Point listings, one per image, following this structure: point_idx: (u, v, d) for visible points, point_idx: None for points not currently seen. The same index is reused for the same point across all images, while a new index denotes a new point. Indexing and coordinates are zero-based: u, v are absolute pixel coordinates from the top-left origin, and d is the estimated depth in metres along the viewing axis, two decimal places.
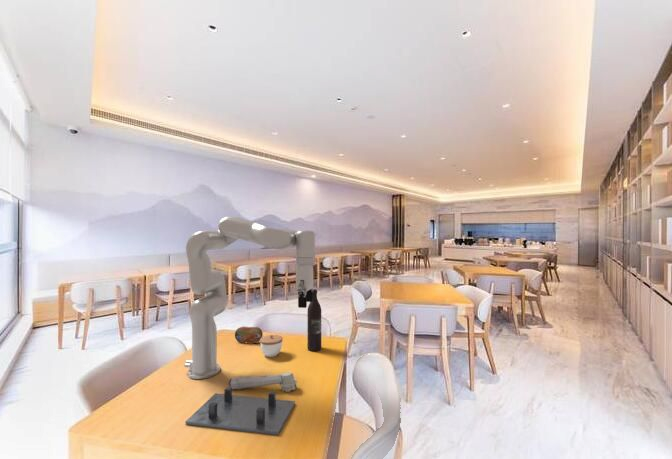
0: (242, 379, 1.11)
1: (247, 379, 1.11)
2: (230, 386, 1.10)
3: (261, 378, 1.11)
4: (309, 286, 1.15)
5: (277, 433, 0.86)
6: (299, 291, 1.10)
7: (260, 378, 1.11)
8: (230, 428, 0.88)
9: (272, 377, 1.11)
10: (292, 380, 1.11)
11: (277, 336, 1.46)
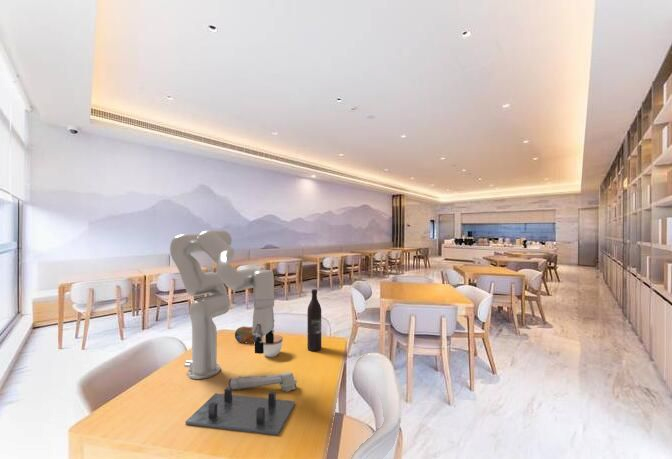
0: (242, 379, 1.11)
1: (247, 379, 1.11)
2: (230, 386, 1.10)
3: (261, 378, 1.11)
4: (267, 330, 1.09)
5: (277, 433, 0.86)
6: (254, 337, 1.04)
7: (260, 378, 1.11)
8: (230, 428, 0.88)
9: (272, 377, 1.11)
10: (292, 380, 1.11)
11: (277, 336, 1.46)
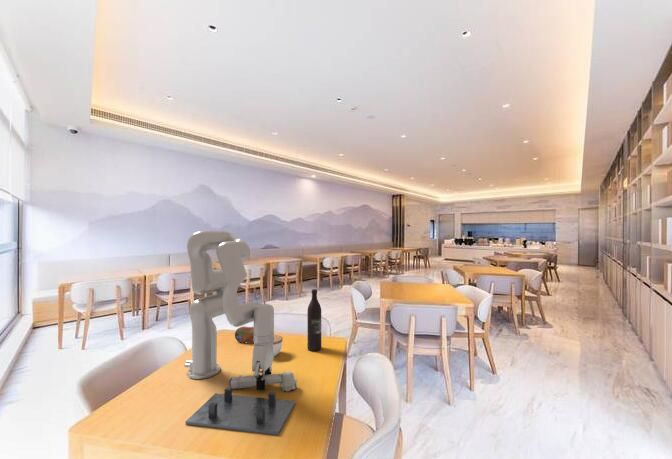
0: (242, 378, 1.11)
1: (247, 378, 1.11)
2: (230, 385, 1.10)
3: None
4: (266, 366, 1.09)
5: (277, 433, 0.86)
6: (256, 377, 1.06)
7: None
8: (230, 428, 0.88)
9: (272, 376, 1.11)
10: (292, 379, 1.11)
11: (277, 336, 1.46)
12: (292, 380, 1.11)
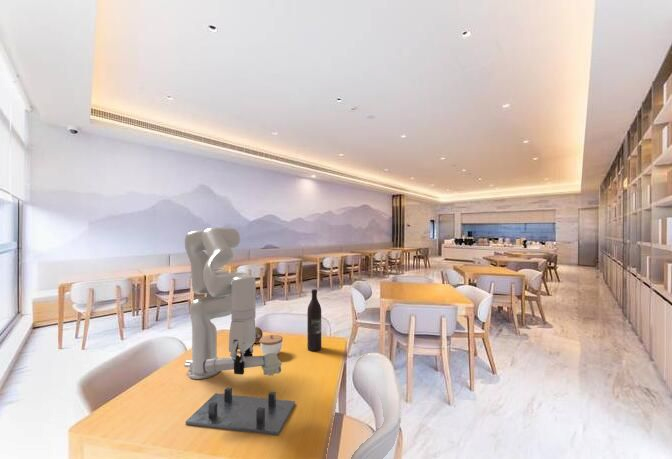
0: (218, 360, 0.96)
1: (224, 360, 0.96)
2: (204, 368, 0.95)
3: None
4: (246, 346, 0.94)
5: (277, 433, 0.86)
6: (233, 358, 0.90)
7: None
8: (230, 428, 0.88)
9: (253, 358, 0.95)
10: (276, 362, 0.95)
11: (277, 336, 1.46)
12: (276, 363, 0.95)
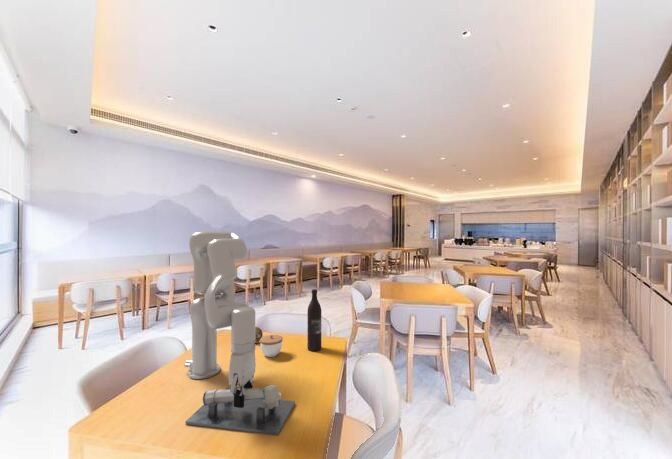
0: (218, 393, 0.96)
1: (224, 393, 0.96)
2: (204, 401, 0.95)
3: None
4: (246, 379, 0.94)
5: (277, 433, 0.86)
6: (233, 392, 0.90)
7: None
8: (230, 428, 0.88)
9: (253, 391, 0.95)
10: (276, 395, 0.95)
11: (277, 336, 1.46)
12: (275, 396, 0.95)
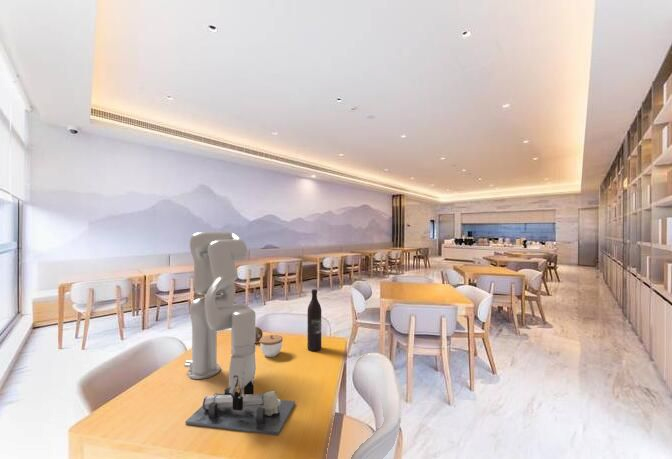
0: (218, 398, 0.96)
1: (223, 398, 0.96)
2: (204, 406, 0.96)
3: None
4: (246, 381, 0.94)
5: (277, 433, 0.86)
6: (231, 394, 0.90)
7: None
8: (230, 428, 0.88)
9: (252, 397, 0.95)
10: (275, 402, 0.94)
11: (277, 336, 1.46)
12: (274, 402, 0.94)
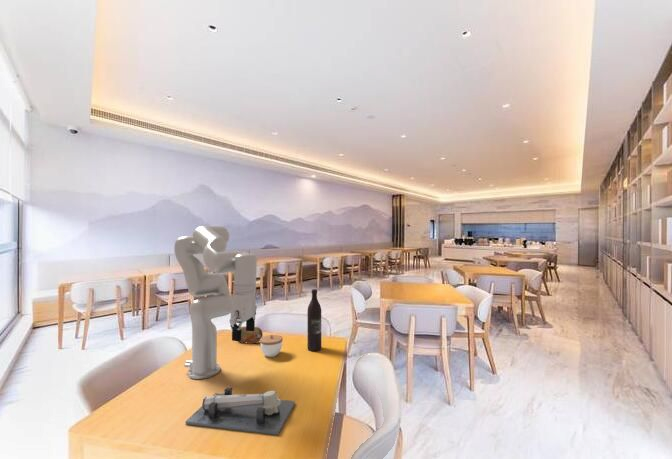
0: (218, 398, 0.96)
1: (223, 399, 0.96)
2: (204, 406, 0.95)
3: (239, 398, 0.95)
4: (246, 317, 1.03)
5: (277, 433, 0.86)
6: (231, 324, 0.98)
7: (238, 398, 0.96)
8: (230, 428, 0.88)
9: (252, 397, 0.95)
10: (275, 401, 0.95)
11: (277, 336, 1.46)
12: (275, 402, 0.95)
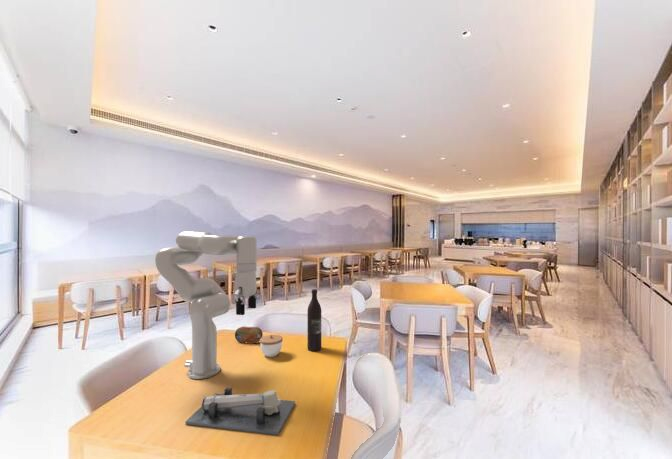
0: (217, 398, 0.96)
1: (223, 399, 0.96)
2: (203, 407, 0.95)
3: (239, 398, 0.95)
4: (248, 293, 1.13)
5: (277, 433, 0.86)
6: (235, 298, 1.08)
7: (238, 398, 0.96)
8: (230, 428, 0.88)
9: (252, 397, 0.95)
10: (275, 401, 0.95)
11: (277, 336, 1.46)
12: (275, 401, 0.95)
